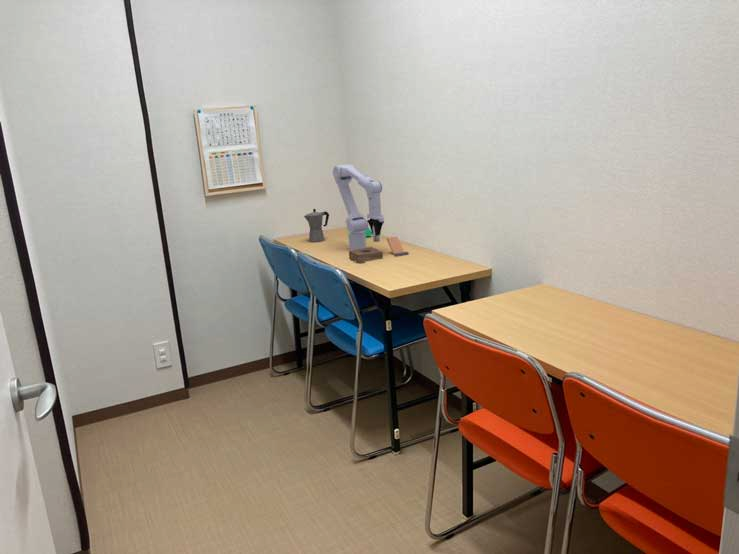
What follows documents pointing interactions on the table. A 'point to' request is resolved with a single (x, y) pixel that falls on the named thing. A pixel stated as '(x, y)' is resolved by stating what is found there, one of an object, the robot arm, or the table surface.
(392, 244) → the latch flap
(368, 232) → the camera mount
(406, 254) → the latch bracket
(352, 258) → the hitch block
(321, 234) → the coffeepot
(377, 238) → the steel peg
